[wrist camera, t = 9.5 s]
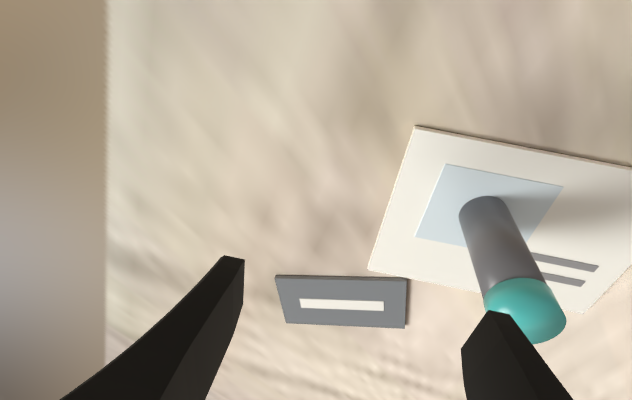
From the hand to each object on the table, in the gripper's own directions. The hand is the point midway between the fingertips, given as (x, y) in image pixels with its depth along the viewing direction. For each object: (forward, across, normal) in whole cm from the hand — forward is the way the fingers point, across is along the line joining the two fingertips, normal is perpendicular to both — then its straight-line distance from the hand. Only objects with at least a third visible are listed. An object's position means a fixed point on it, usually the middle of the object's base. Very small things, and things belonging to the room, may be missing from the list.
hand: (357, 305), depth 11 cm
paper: (+10, -9, +3) cm, 14 cm away
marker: (+9, -7, +2) cm, 12 cm away
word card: (+10, -1, +12) cm, 16 cm away
